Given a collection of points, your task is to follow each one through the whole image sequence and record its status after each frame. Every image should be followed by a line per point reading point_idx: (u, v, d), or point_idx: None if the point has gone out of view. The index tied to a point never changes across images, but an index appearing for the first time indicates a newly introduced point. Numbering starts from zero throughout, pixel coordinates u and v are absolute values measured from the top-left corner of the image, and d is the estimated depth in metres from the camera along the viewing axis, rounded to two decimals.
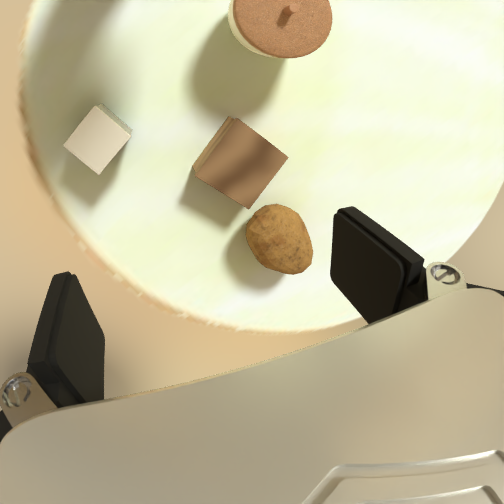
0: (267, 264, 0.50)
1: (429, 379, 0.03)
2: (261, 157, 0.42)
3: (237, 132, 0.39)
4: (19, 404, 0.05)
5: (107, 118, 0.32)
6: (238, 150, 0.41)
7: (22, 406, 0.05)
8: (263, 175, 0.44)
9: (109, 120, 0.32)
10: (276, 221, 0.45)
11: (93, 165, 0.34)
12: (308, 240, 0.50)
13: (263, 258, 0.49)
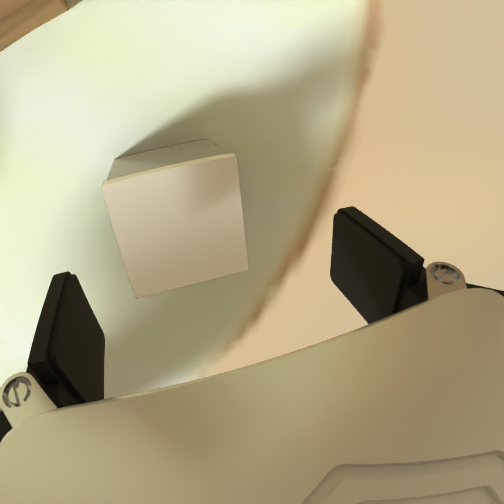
0: None
1: (429, 379, 0.03)
2: None
3: None
4: (19, 404, 0.05)
5: (125, 259, 0.14)
6: None
7: (22, 406, 0.05)
8: None
9: (124, 252, 0.14)
10: None
11: (227, 186, 0.14)
12: None
13: None
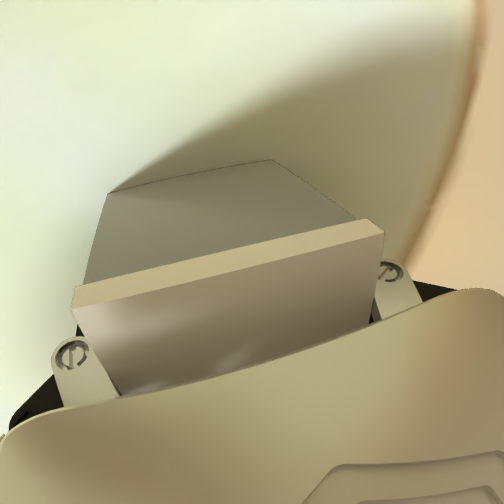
0: None
1: (429, 379, 0.03)
2: None
3: None
4: (71, 367, 0.06)
5: None
6: None
7: (74, 370, 0.06)
8: None
9: None
10: None
11: (356, 292, 0.07)
12: None
13: None
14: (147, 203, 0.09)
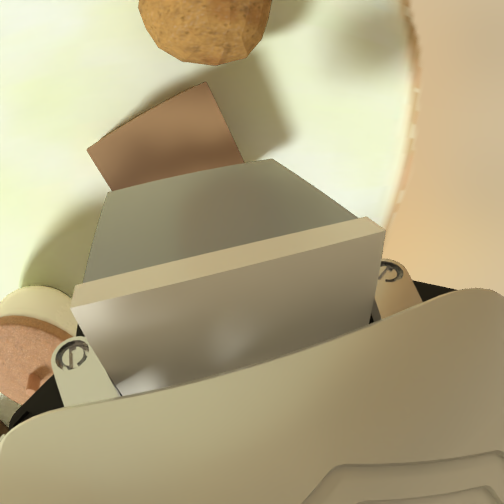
0: None
1: (429, 379, 0.03)
2: (137, 170, 0.21)
3: None
4: (71, 367, 0.06)
5: None
6: None
7: (74, 370, 0.06)
8: (146, 134, 0.20)
9: None
10: (193, 40, 0.16)
11: (356, 291, 0.07)
12: None
13: None
14: (147, 202, 0.09)
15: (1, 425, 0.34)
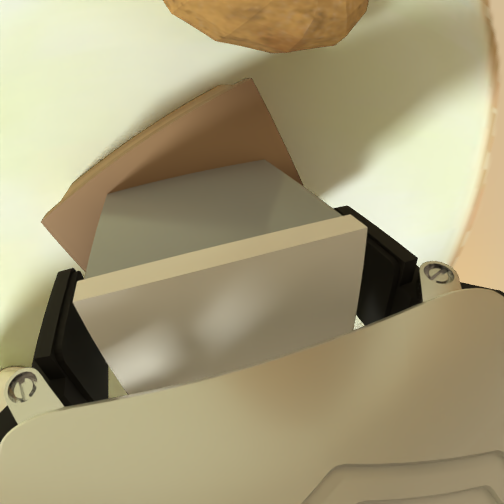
0: None
1: (429, 379, 0.03)
2: None
3: None
4: (24, 399, 0.05)
5: None
6: None
7: (27, 401, 0.05)
8: None
9: None
10: None
11: (341, 285, 0.07)
12: None
13: None
14: (144, 203, 0.09)
15: None
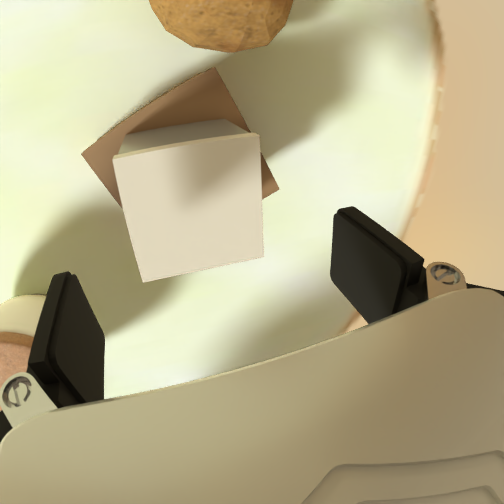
0: None
1: (429, 379, 0.03)
2: None
3: None
4: (19, 404, 0.05)
5: (134, 240, 0.14)
6: None
7: (22, 406, 0.05)
8: None
9: (132, 233, 0.13)
10: (208, 21, 0.13)
11: (248, 167, 0.13)
12: None
13: None
14: (149, 135, 0.15)
15: None
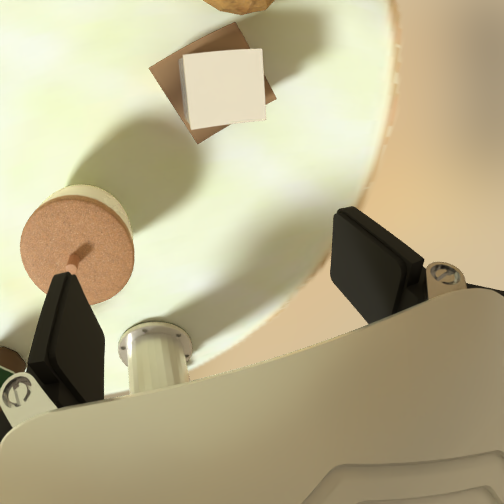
0: None
1: (429, 379, 0.03)
2: None
3: None
4: (19, 404, 0.05)
5: (190, 100, 0.22)
6: None
7: (22, 406, 0.05)
8: None
9: (189, 96, 0.22)
10: None
11: (256, 64, 0.22)
12: None
13: None
14: None
15: (18, 357, 0.41)
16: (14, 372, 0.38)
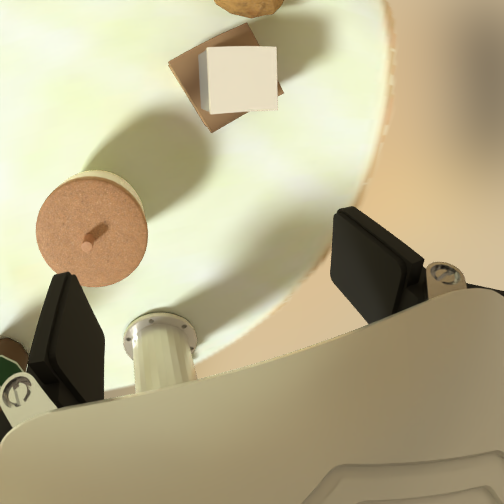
0: None
1: (429, 379, 0.03)
2: None
3: (218, 117, 0.32)
4: (19, 404, 0.05)
5: (211, 88, 0.24)
6: None
7: (22, 406, 0.05)
8: None
9: (211, 84, 0.24)
10: None
11: (270, 60, 0.25)
12: None
13: None
14: None
15: (21, 348, 0.42)
16: (17, 363, 0.39)
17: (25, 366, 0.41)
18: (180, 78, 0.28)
